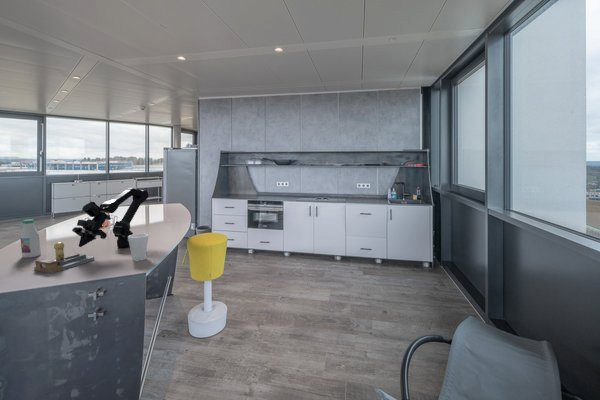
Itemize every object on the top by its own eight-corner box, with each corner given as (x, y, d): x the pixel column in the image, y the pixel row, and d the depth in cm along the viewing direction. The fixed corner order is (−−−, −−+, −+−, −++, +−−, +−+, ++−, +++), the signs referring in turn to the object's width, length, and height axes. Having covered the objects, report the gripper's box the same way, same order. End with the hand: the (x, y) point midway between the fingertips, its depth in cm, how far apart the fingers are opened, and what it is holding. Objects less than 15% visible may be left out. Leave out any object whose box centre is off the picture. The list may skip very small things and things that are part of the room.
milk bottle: (38, 253, 172) (35, 218, 169) (43, 255, 168) (39, 219, 165) (20, 256, 166) (16, 220, 163) (24, 259, 161) (21, 221, 159)
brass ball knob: (61, 261, 154) (60, 241, 152) (67, 262, 152) (65, 241, 151) (40, 267, 145) (39, 245, 143) (46, 268, 143) (45, 246, 142)
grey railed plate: (77, 257, 165) (77, 248, 165) (94, 259, 162) (93, 251, 161) (34, 270, 146) (33, 260, 145) (52, 273, 142) (51, 263, 141)
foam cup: (152, 257, 167) (151, 234, 165) (139, 262, 158) (137, 238, 157) (139, 255, 170) (138, 232, 169) (125, 260, 162) (123, 236, 160)
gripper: (74, 212, 166) (54, 237, 157) (100, 214, 160) (81, 240, 151) (88, 223, 174) (71, 247, 165) (114, 226, 169) (97, 251, 160)
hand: (79, 246), depth 160 cm, fingers closed
